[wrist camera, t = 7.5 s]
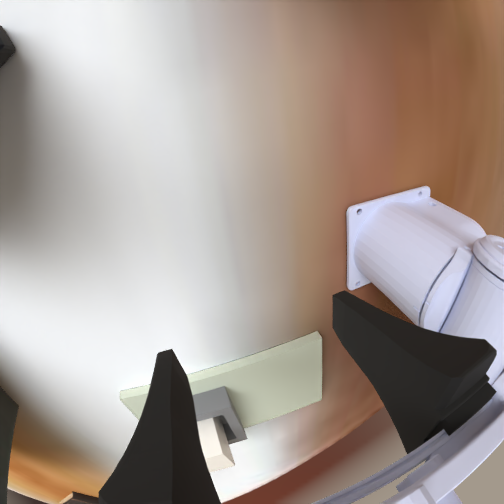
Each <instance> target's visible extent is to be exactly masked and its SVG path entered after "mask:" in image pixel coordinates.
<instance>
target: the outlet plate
mask: <svg viewBox="0 0 504 504" xmlns="http://www.w3.org/2000/svg"><path fill="white" fill-rule="evenodd" d="M187 377H188V380H189V384H190V388H191V391H192V395H193V400H194V406H195V413H196V419H197V422H198V421H202V420H206V419H209V418H213V417H217V416H219V417H220V418H221V421H222V424H223V427H224V431H225V434H226V437H227V441H228V444H232V443H235V442H239V441H242V440H245V439H247V436H246V434H245V431H244V428H247V427H250V426H253V425H256V424H259V423H262V422H265V421H268V420H271V419H274V418H276V417H279V416H282V415H285V414H287V413H290V412H293V411H295V410H298V409H300V408H303V407H305V406H308V405H310V404H312V403H315V402H317V401H320V400H322V337H321V335H320V334H319V333H318V331H316V332H313V333H311V334H308V335H305V336H303V337H300V338H298V339H295V340H292V341H290V342H287V343H284V344H282V345H279V346H276V347H273V348H270V349H268V350H265V351H262V352H259V353H256V354H253V355H250V356H247V357H244V358H241V359H238V360H235V361H232V362H229V363H225V364H222V365H219V366H216V367H212V368H209V369H206V370H202V371H199V372H195V373H192V374H188V375H187ZM149 388H150V384H149V385H145V386H141V387H137V388H132V389H128V390H123V391H120V400H121V401H122V402H123V404H124V405H125V406H126V407H127V408H128V409H129V410H130V411H131V412H132V413H133V414H134V415H135V416H136V417H137V419H138V420H140V417H141V414H142V411H143V408H144V405H145V402H146V399H147V396H148V392H149Z"/></svg>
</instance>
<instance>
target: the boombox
mask: <svg viewBox="0 0 504 504" xmlns="http://www.w3.org/2000/svg"><path fill="white" fill-rule="evenodd" d="M18 407H19V406H18V405H17V404H16V403H15V402H14V401H13V400H12V399H11V398H10V397H9V396H8V395H7V393H6V392H5V391H4V390H3V389H2V388H1V387H0V504H7V484H8V471H9V461H10V453H11V446H12V439H13V433H14V427H15V422H16V417H17V412H18Z"/></svg>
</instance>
